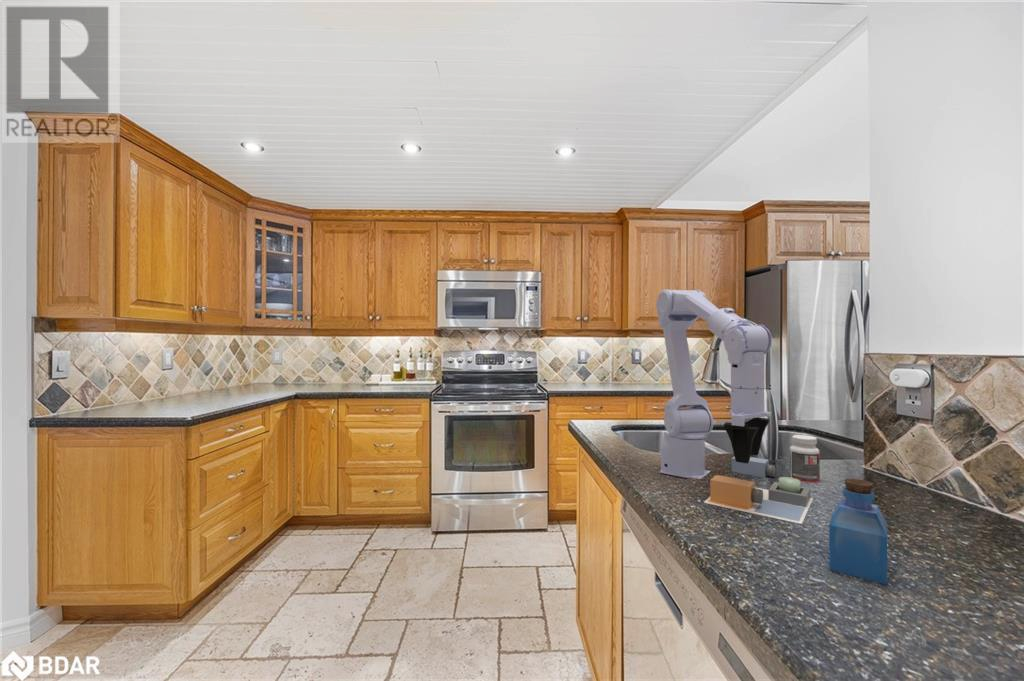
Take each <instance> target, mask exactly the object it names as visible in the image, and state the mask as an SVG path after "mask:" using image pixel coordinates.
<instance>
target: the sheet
mask: <svg viewBox="0 0 1024 681" xmlns="http://www.w3.org/2000/svg"><path fill="white" fill-rule="evenodd" d="M755 488H756V489H761V490H763V502H762V504H758V503H754V505H753V506H752V507H751V509H749V508H744V507H739V506H734V505H730V504H725V503H720V502H715V501H711V500H710V496H708V498H707V499H706V500H704V501H703V504H707V505H711V506H716V507H722V508H725V509H726V508H727V509H731V510H736V511H739V512H744V513H745V512H746V513H749V514H753V515H758V516H762V517H766V518H767V517H768V518H771V519H772V518H773V519H776V520H781V521H785V522H790V523H795V524H799V525H802V524H803V522H804V520H805V518H806V515H807V513H808V510H809V508H810V506H811V504H812V502H813V500H814V498H813V497H810V500H809V502H808V505H807V507H802V506H796V505H791V504H786V503H781V502H776V501H771V500H768V490H769V489H764V488H759V487H755Z"/></svg>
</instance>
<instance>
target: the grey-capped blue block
mask: <svg viewBox="0 0 1024 681" xmlns="http://www.w3.org/2000/svg"><path fill="white" fill-rule="evenodd" d="M730 460H731V472H732V473H736V474H742V475H748V476H754V477H759V478H766V477H771V478H775V476H776V466H775V465H774V464H773V465H772V464H770V463H769V462H770V461H769V459H766V458H759V457H753V456H750V460H749V463H748V464H747V463H740V462H736V460H735V457H734V456H731V459H730Z"/></svg>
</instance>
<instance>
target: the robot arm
mask: <svg viewBox="0 0 1024 681" xmlns="http://www.w3.org/2000/svg"><path fill="white" fill-rule="evenodd" d="M655 306H656V307H655V308H656V313H657V314H656V315H657V319H658V324H659V326H660V327H661V328H662V330H663V332H662V333H663V338H664V343H665V350H666V355H667V362H668V363H667V364H668V368H669V374H670V381H671V387H672V393H673V394H672V395H673V396H672V397H671V398H670V399H669V400H668V401H667V402H666V403H665V404H664V416H663V423H664V428H665V430H666V431H667V433H665V434H663V436H662V439H661V443H660V444H661V445H660V470H659V473H660V474H664V475H668V476H669V475H670V476H675V477H679V478H684V479H685V478H686V479H689V478H692V479H693V478H694V479H700V480H701V479H703V478H704V477H705V476H707V475H708V474H710V472H711V470H707V469H706V461H705V460H706V450H705V449H706V438H708V437H709V434H710V433H711V432H712V431H713V428H714V425H715V424H714V417H713V414H712V412H711V411H710V408H709V404H708V401H707V400H706V399H705V398H703V397H702V396H700V395H699V394H698V393H697V389H696V383H695V378H694V377H695V376H694V372H693V366H692V365H693V364H692V360H691V354H690V348H689V343H688V337H687V329H688V328H691V327H693V326H694V325H695V323H696V321H697V320H698V318H700V319H701V320H703V321H704V322H707V323H706V324H707V328H708V330H709V331H710V332H711V333H712V334H713V335H715V336H716V337H717V338H718V339H720V340H721V341H722V342H723V345H724V348H725V351H726V353H727V362H728V363H729V364H730V408H729V415H730V416H731V422H725V423H723V428H724V431H725V432H726V434H727V436H728V437H729V440H730V444H731V447H732V451H733V452H732V453H733V455H734V456H733V457H735V460H736V462H740V463H747V464H748V463H749V460H750V457H752V456H751V455H753V456H759V453H760V449H761V445H762V440H763V436H764V433H765V430H766V429H767V426H768V425H769V423H770V419H769V418H770V417H771V416H772V411H765V355H766V354H767V353H768V352H769V351H770V349H771V347H772V344H773V338H772V333H771V332H770V330H769V329H768V328H767V327H766V326H765V324H755V325H753V324H751V323H750V322H749V320H748V319H747V318H743V317H741V316H739V315H738V314H737V313H735V309H733V308H732V307H725V308H724V307H723V308H718V307H717V306H716V305H715V304H714V303H713V302H711V301H710V300H709V299H707V295H706V293H705V292H703V291H701V290H700V289H694V290H692V289H691V290H690V289H689V290H687V289H686V290H685V289H684V290H683V289H668V288H664V289H662V290H661V291H660V293H659V294H658V296H657V300H656V303H655ZM765 417H767V418H765ZM768 417H769V418H768Z"/></svg>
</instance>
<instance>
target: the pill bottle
mask: <svg viewBox="0 0 1024 681" xmlns="http://www.w3.org/2000/svg"><path fill="white" fill-rule="evenodd" d="M791 440H792V443H793V444H792V445H791V446H790V447H789V477H790V478H795V479H798V480H800V483H801V482H802V483H808V484H809V483H819V482H820V480H821V472H820V471H821V470H820V469H821V465H820V463H821V462H820V460H821V459H820V458H821V455H820V454H821V453H820V449H819V448H818V447H817V446H816V445H817V444H818V438H817V437H815V436H812V435H804V434H794V435H792V438H791Z"/></svg>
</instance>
